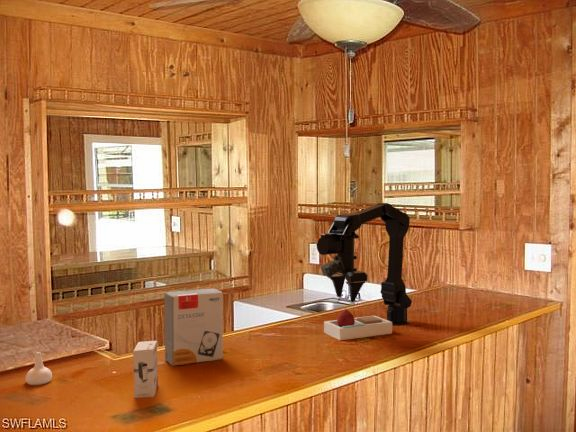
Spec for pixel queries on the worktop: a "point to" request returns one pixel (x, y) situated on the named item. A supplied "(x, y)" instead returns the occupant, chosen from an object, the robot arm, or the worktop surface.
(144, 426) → the worktop surface
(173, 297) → the hard drive box
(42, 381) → the garlic bulb
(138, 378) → the ink box
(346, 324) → the onion
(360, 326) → the white divided tray
